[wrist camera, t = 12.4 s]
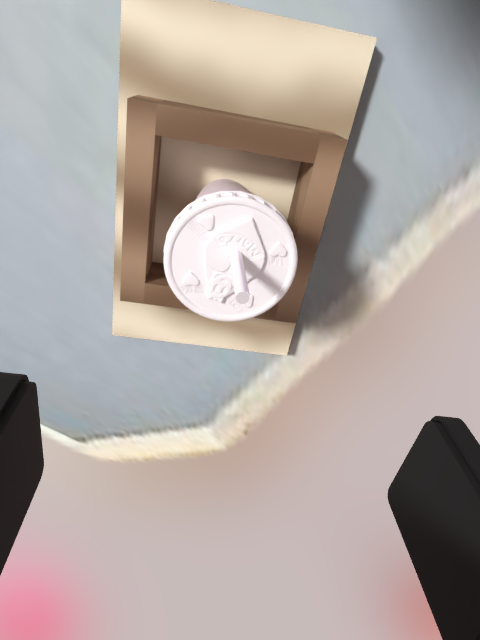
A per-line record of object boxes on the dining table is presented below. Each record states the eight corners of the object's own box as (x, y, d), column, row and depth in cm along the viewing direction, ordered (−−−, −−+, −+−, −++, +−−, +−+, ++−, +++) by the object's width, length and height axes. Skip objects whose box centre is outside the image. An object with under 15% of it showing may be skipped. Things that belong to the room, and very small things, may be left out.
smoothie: (288, 180, 27) (352, 266, 15) (248, 265, 30) (275, 394, 18) (195, 139, 26) (185, 198, 14) (162, 232, 28) (129, 350, 16)
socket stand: (126, -16, 23) (106, -35, 19) (370, 39, 24) (400, 33, 20) (115, 326, 34) (101, 361, 30) (284, 347, 35) (293, 382, 31)
